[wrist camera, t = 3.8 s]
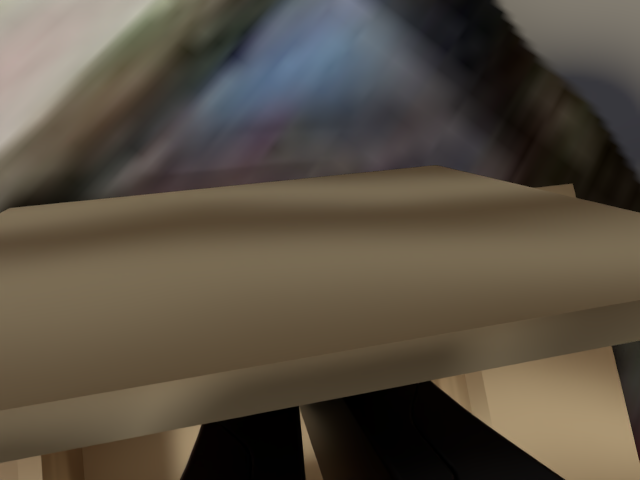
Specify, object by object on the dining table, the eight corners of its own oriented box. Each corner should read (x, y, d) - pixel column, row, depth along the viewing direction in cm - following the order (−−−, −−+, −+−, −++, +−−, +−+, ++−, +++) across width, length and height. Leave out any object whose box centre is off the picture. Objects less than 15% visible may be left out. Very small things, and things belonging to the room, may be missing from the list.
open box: (564, 475, 21) (651, 512, 17) (-85, 635, 16) (-197, 744, 12) (504, 199, 23) (569, 168, 19) (-96, 270, 18) (-198, 250, 14)
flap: (845, 301, 6) (854, 262, 6) (-534, 565, 4) (-571, 508, 4) (436, 179, 17) (436, 165, 17) (13, 225, 15) (9, 207, 15)
